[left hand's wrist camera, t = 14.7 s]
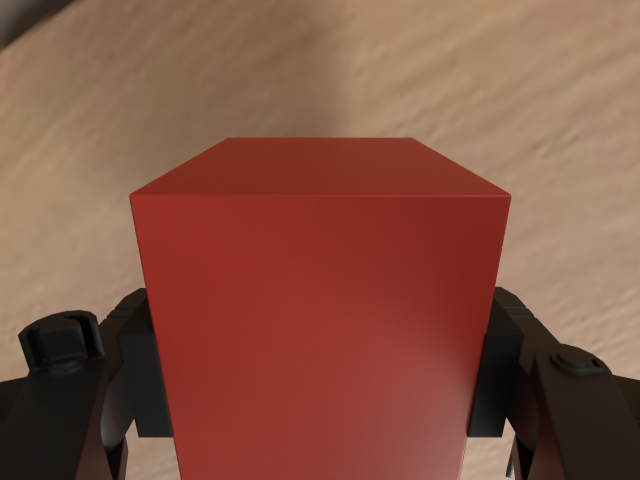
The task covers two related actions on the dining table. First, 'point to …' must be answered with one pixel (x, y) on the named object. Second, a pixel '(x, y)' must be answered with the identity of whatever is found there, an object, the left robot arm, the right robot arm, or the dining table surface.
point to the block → (320, 306)
